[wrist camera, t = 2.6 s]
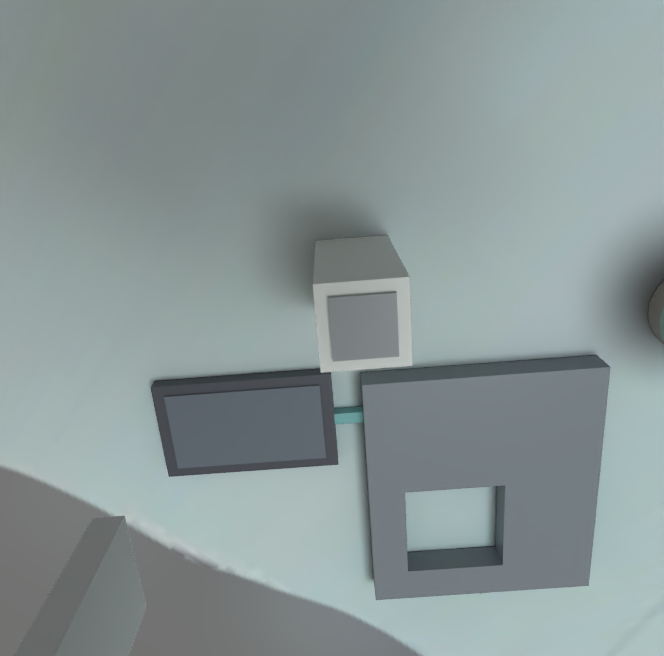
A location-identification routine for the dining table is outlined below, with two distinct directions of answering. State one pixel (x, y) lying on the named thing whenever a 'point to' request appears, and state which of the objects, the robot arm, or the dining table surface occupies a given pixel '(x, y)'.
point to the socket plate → (487, 470)
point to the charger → (361, 304)
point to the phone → (249, 422)
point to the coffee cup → (657, 313)
